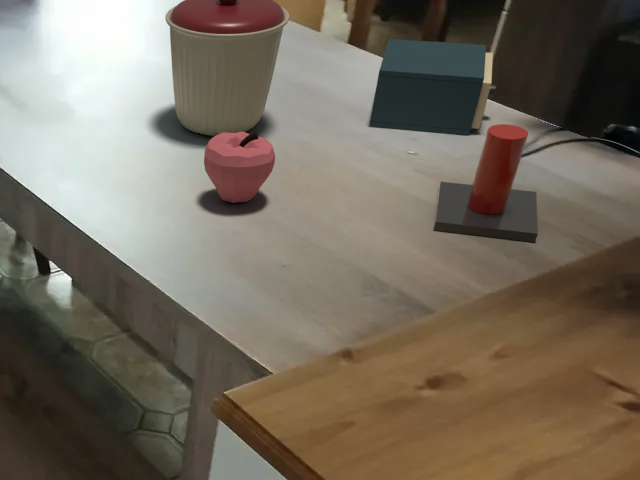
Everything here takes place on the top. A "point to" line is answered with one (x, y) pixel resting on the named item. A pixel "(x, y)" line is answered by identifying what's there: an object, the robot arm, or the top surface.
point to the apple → (238, 164)
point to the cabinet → (428, 86)
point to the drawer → (484, 91)
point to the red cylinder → (497, 168)
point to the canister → (223, 61)
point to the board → (507, 224)
